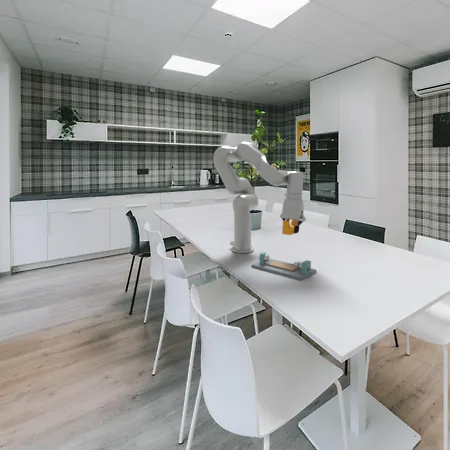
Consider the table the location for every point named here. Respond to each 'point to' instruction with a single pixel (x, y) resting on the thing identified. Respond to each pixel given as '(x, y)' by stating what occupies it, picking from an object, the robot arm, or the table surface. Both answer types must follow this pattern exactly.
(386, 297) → the table surface
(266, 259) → the short metal cylinder
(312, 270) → the stand
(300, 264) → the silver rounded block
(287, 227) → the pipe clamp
